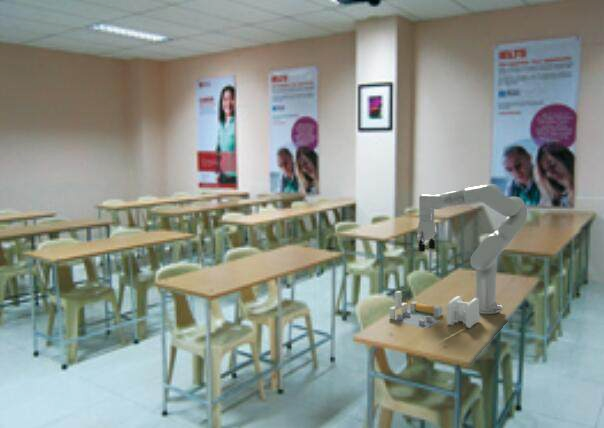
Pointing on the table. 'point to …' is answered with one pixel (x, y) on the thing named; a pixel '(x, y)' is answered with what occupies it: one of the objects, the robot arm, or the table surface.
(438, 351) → the table surface
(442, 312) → the mat
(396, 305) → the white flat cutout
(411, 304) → the grey orange bar
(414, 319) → the board
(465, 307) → the cable organizer
